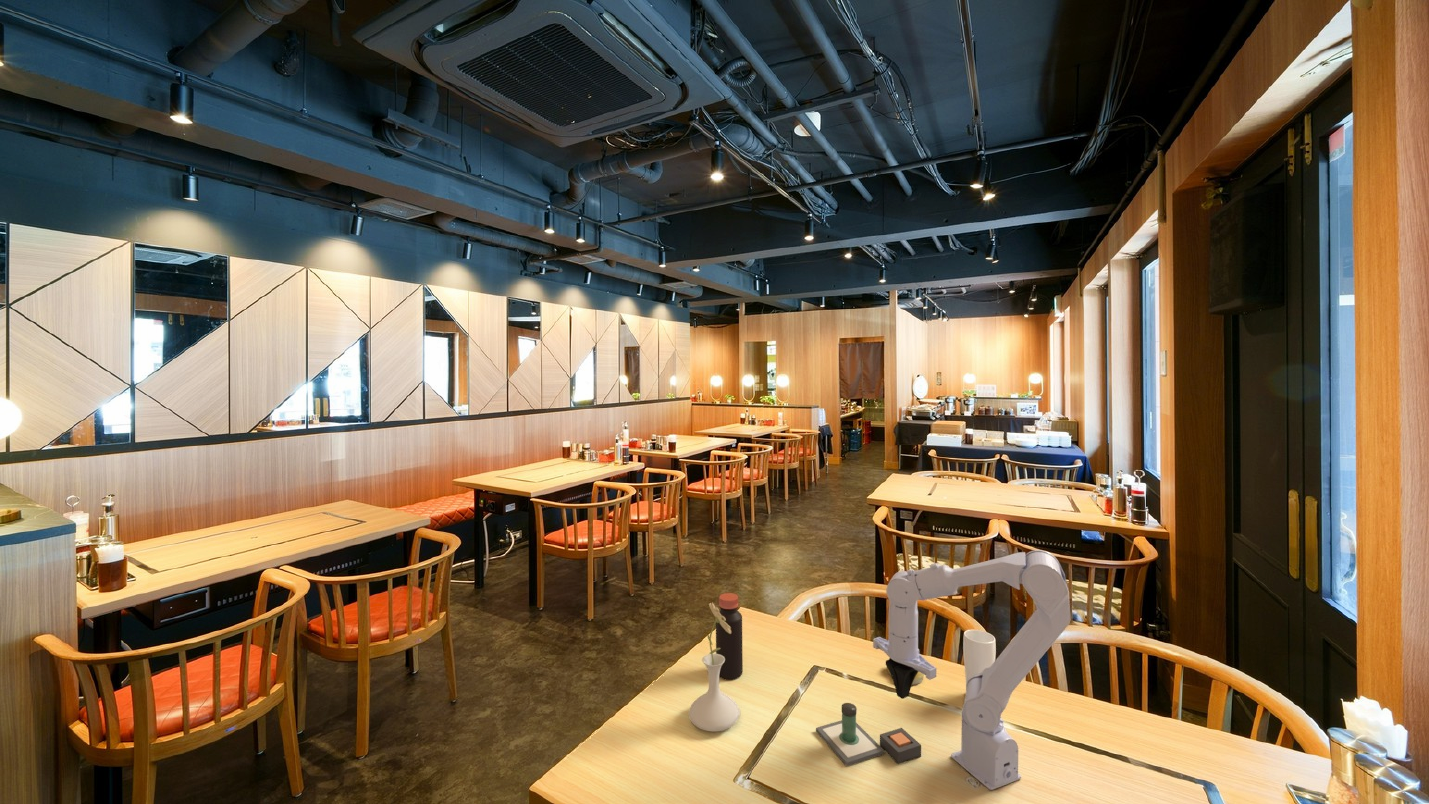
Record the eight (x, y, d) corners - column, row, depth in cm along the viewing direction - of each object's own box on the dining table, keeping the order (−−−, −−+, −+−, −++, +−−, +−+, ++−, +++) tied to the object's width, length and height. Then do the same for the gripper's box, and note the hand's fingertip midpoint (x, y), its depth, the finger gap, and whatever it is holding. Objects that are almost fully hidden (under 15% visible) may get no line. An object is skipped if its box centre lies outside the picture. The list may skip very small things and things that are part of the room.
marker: (859, 740, 108) (859, 709, 107) (847, 744, 107) (847, 713, 106) (850, 731, 110) (850, 701, 110) (838, 735, 109) (838, 704, 109)
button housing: (921, 756, 104) (921, 745, 104) (898, 764, 102) (898, 752, 102) (901, 738, 109) (901, 727, 109) (879, 745, 107) (879, 734, 107)
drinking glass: (987, 690, 126) (988, 629, 125) (1000, 708, 119) (1001, 643, 118) (958, 689, 126) (958, 628, 126) (969, 706, 120) (969, 642, 119)
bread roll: (903, 689, 127) (903, 673, 127) (881, 669, 136) (881, 654, 136) (931, 683, 129) (932, 667, 129) (909, 664, 138) (909, 649, 138)
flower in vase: (741, 737, 110) (740, 621, 109) (687, 738, 110) (685, 621, 109) (738, 699, 123) (737, 595, 122) (690, 700, 123) (688, 596, 122)
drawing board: (884, 754, 105) (884, 749, 105) (846, 766, 102) (846, 762, 102) (851, 721, 115) (851, 716, 115) (815, 731, 112) (815, 727, 112)
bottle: (712, 678, 132) (712, 600, 131) (720, 664, 139) (719, 590, 138) (739, 682, 130) (738, 603, 129) (745, 668, 137) (744, 593, 136)
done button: (910, 749, 105) (910, 741, 105) (899, 753, 104) (899, 744, 104) (900, 740, 108) (900, 732, 107) (889, 744, 107) (889, 735, 106)
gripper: (946, 641, 104) (946, 708, 104) (889, 613, 116) (888, 673, 117) (922, 651, 100) (922, 720, 101) (866, 621, 113) (866, 682, 113)
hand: (902, 695), depth 109 cm, fingers closed
